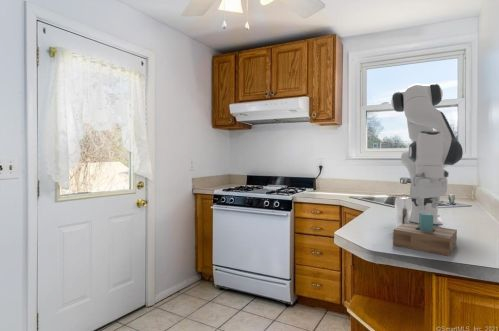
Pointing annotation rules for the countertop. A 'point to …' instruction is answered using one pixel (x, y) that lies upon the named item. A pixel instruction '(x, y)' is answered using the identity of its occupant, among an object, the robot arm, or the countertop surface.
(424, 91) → the robot arm
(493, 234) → the countertop surface
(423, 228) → the peg
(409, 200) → the beer glass
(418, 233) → the socket block
